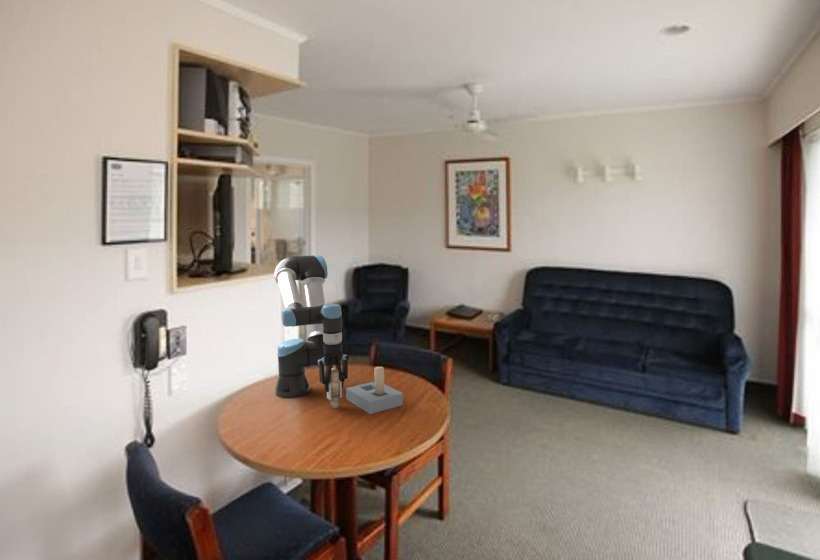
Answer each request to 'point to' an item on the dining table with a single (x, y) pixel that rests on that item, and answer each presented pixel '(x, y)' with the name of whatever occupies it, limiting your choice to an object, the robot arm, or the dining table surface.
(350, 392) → the seat board
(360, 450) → the dining table surface
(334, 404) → the beech leg
